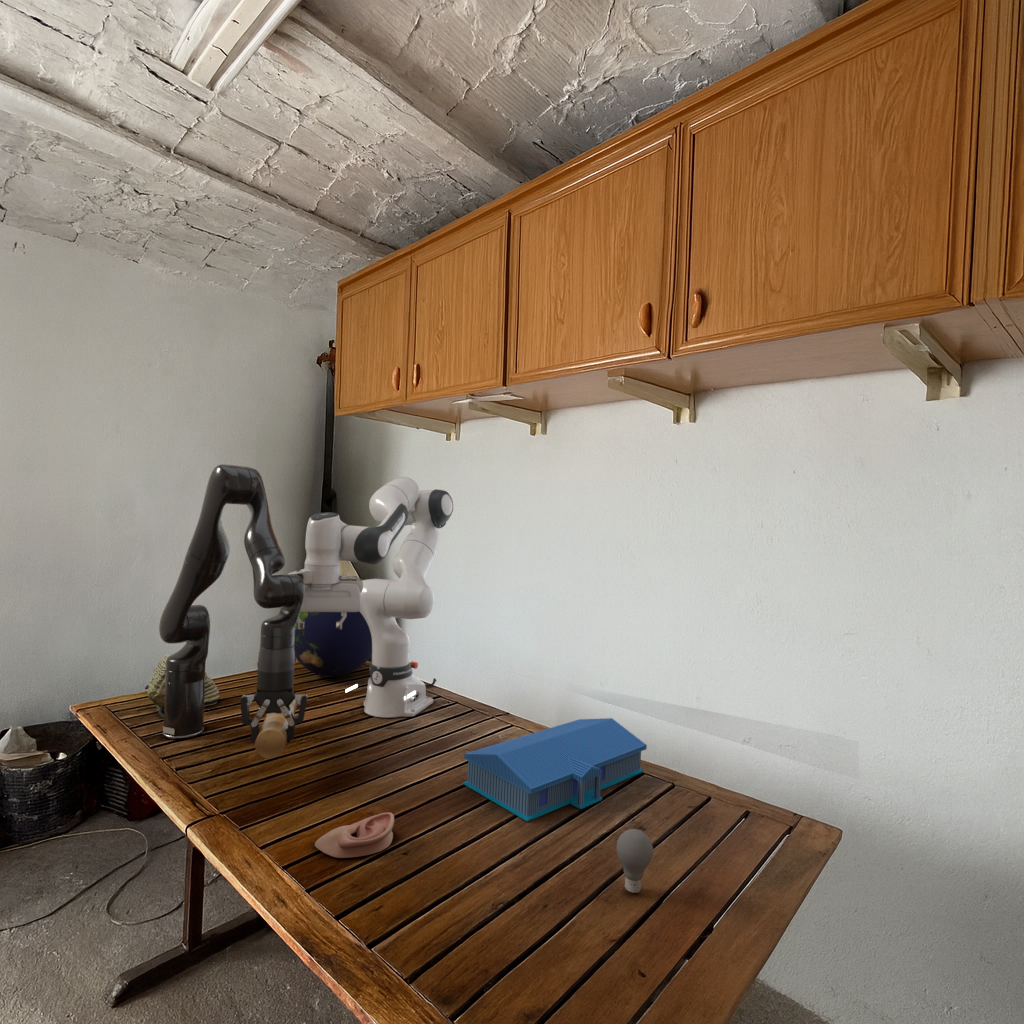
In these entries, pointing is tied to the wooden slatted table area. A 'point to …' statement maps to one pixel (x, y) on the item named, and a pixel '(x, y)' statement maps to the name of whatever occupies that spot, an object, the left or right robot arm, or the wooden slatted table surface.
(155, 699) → the fossil
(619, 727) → the model building
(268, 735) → the rod
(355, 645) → the globe
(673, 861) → the wooden slatted table surface
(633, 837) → the light bulb
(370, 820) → the anatomical model
